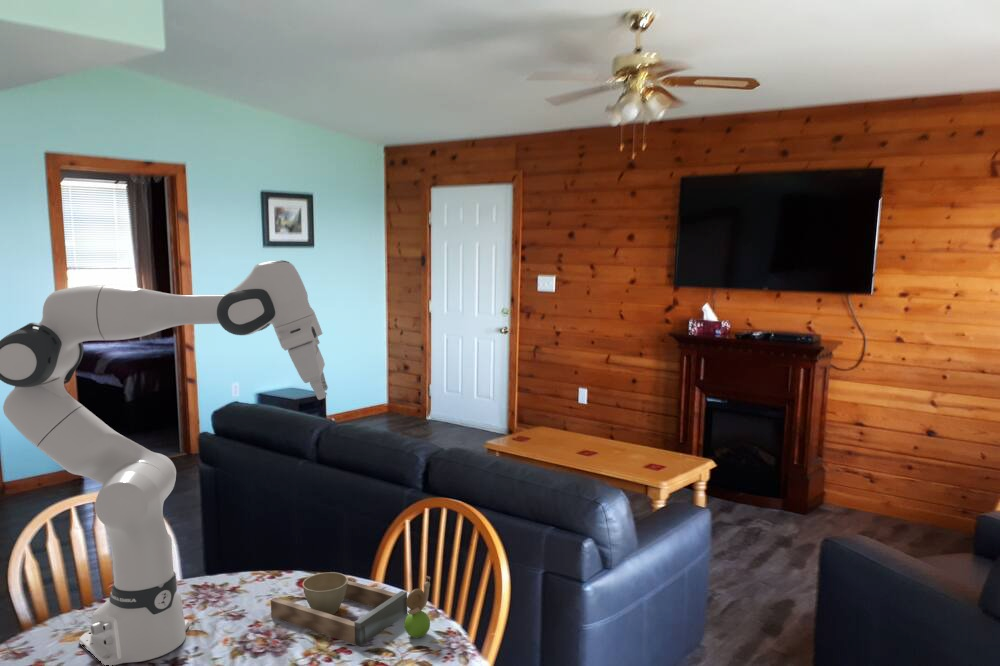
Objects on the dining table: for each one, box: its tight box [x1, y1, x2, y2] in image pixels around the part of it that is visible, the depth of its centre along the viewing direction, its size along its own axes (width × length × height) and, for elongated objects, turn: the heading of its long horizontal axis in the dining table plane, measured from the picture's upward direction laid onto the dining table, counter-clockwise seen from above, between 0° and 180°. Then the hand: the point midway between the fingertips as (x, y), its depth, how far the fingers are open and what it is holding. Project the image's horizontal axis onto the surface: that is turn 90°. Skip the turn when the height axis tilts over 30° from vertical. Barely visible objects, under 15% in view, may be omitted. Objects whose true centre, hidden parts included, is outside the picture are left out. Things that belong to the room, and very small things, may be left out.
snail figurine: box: [404, 575, 431, 639], centre depth 150 cm, size 5×6×12 cm
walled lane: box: [270, 579, 408, 647], centre depth 159 cm, size 26×16×5 cm, turn 61°
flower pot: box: [302, 571, 349, 615], centre depth 161 cm, size 10×10×7 cm
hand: (323, 394), depth 150 cm, fingers open, 8 cm apart
